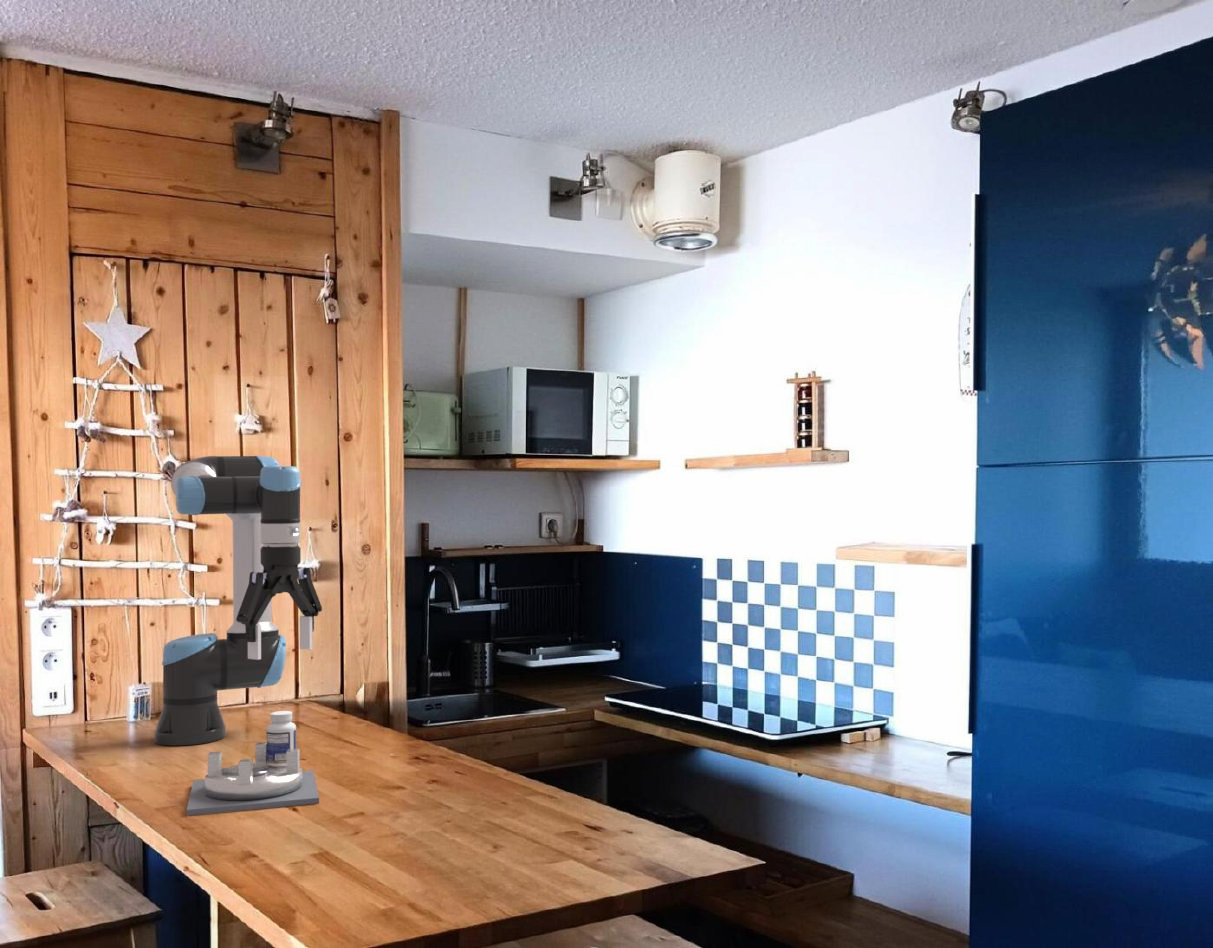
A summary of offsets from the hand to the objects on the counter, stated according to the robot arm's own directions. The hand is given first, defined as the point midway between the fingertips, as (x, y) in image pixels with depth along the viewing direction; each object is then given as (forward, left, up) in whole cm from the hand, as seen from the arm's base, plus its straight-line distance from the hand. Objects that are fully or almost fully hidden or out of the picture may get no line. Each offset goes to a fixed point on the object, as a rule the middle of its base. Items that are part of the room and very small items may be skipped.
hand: (280, 654), depth 214 cm
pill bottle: (+5, 0, -20) cm, 21 cm away
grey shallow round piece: (+11, -5, -23) cm, 26 cm away
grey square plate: (+11, -5, -24) cm, 27 cm away
